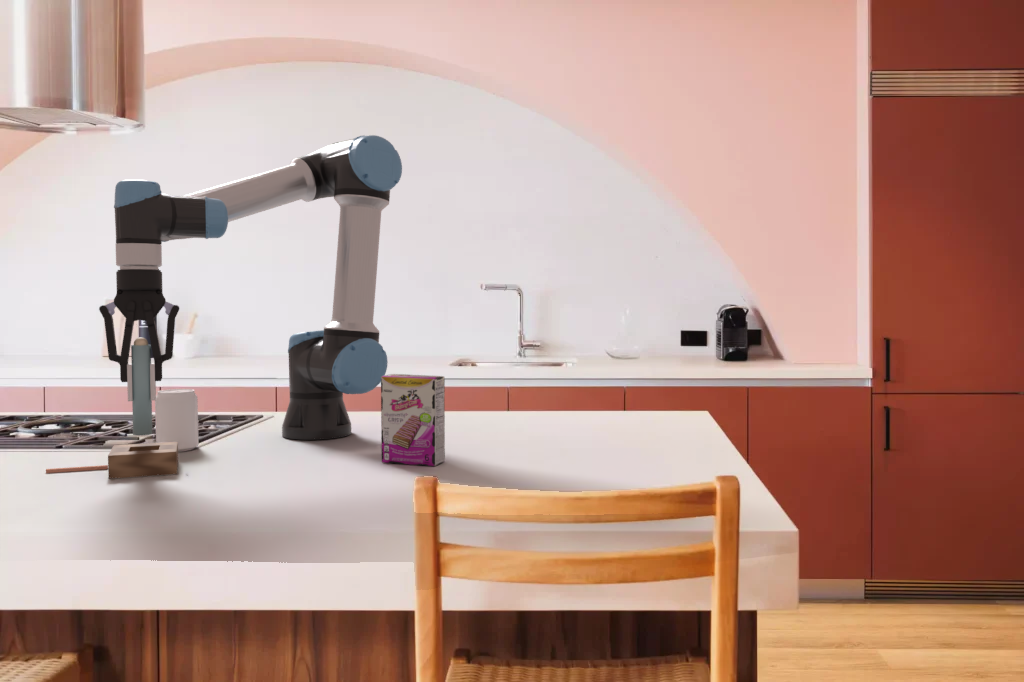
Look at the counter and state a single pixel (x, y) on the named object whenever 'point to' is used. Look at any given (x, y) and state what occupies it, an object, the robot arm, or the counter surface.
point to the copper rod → (76, 469)
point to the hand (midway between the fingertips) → (142, 399)
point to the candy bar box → (413, 419)
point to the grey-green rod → (141, 387)
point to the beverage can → (177, 418)
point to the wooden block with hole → (143, 460)
